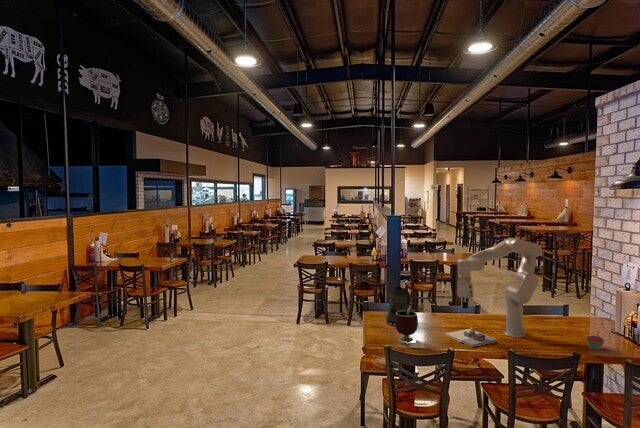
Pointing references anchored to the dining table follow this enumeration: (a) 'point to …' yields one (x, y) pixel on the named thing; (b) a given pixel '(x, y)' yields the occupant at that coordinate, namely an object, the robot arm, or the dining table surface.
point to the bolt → (474, 332)
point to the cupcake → (595, 341)
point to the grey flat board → (471, 338)
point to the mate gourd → (406, 323)
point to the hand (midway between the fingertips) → (465, 307)
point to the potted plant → (397, 303)
